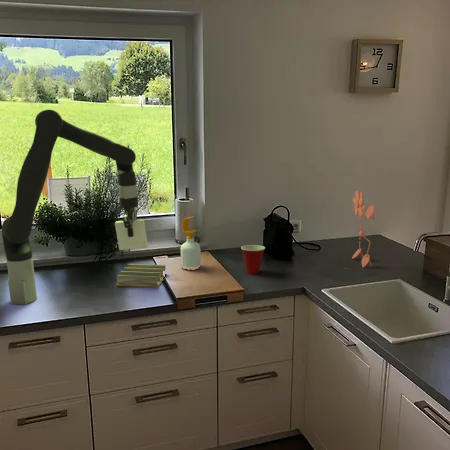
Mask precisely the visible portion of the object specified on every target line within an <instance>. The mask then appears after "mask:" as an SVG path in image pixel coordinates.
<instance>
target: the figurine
mask: <svg viewBox="0 0 450 450" xmlns="http://www.w3.org/2000/svg"><path fill="white" fill-rule="evenodd" d="M354 193H355V194H354V196H355V197H353V198H352V203H353V204H354V207H353V208H352V209H351V212H352V211H353V210H354V214H355V216H358V217H359V218H360V219H359V226H360V231H359V233H358V235H359V239H362V238H364V239H365V240H366V241H368V242H369V244H368V248H367V252H366V253H365V254H364V255H363V252H362V248H361V242H358V243H359V244H358V245H359V246H358V247H359V248H358V249H357V250H356V251H355V253H353V255H352V257H351V260H353V259H355V258H357V257H358V256H360V257H362V259H361V266H362V268H364V267H366V266H367V265H368V264H370V267H373V264H372V261H371V260H370V254H369V251H370V246H371V243H372V242H371V241H370V240H369V239H368V238H366V236H365V235H366V233H365V231H364V230H362V229H363V228H362V222H361V221H363V220H364V219H366V218H367V220H369V219H370V218H371V219H372V220H375V206H374V204H371V205H369V206H368V208H367V209H366V205H365V203H364V194H363V191H360V193H359V191H358V190H356V191H355V192H354ZM363 212H364V213H363ZM363 214H364V215H365V216H364V217H362V216H363ZM361 237H362V238H361ZM360 254H361V255H360ZM345 269H348V270H349V267H345ZM350 270H351V271H353V269H351V268H350ZM355 271H357V270H356V269H355Z"/></svg>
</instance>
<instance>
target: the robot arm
mask: <svg viewBox="0 0 450 450" xmlns="http://www.w3.org/2000/svg"><path fill="white" fill-rule="evenodd" d="M34 125H35V132H34V137H33V140H32V144H31V147H30V148H29V150H28V152H27V154H26V156H25V159H24V160H23V163H22V165H21V169H20V172H19V176H18V179H17V182H16V183H17V184H16V198H15V204H14V205H15V206H14V208H13V211H12V214H11V216H9V217H6V218H5V219H4V221H3V222H2V225H1V235H2V236H1V237H2V242H3V249H4V253H5V258H6V259H5V260H6V267H7V273H8V274H7V275H8V283H7V284H8V290H9V291H8V292H9V297H10V299H9V300H10V304H11V305H27V304H30V303H33V302H35V301H36V300H37V299H38V297H37V295H38V294H37V286H36V278H35V277H36V276H35V268H34V258H33V252H32V247H31V244H30V236H31V233H32V228H33V222H34V219H35V213H36V208H37V206H38V203H39V201H40V198H41V196H42V192H43V189H44V186H45V184H46V180H47V178H48V177H47V176H48V172H49V169H50V165H51V160H52V155H53V149H54V147H55V144H56V142H57V139H58V138H61V139H64V140H67V141H69V142H72V143H74V144H76V145H78V146H80V147H83V148H85V149H86V150H89V151H91V152H94V153H96V154H98V155H100V156H103V157H106V158H109V159H111V160H113V161H115V164H116V165H115V167H116V171H117V174H118V175H117V178H118V197H119V199H118V200H119V207H120V208H121V209H124V212H123V216H122V221H123V222H124V226H125V228H127V231H128V237H133V222H134V220H138V219H137V218H138V210H137V209H136V208H138V206H139V198H138V197H139V196H138V186H137V179H136V172H135V171H134V166H133V164H134V162H136V159H137V157H136V153H135V151H134V150H133V149H132V148H130V147H127V146H125V145H122V144H120V143H117V142H115V141H113V140H111V139H110V138H107V137H104V136H103V135H100V134H98V133H96V132H93V131H90V130H87V129H85V128H81V127H79V126H76V125H74V124H72V123H70V122H68V121H66V120H65V119H63V118H62V115H60V113H59V112H58V111H56V110H54V109H45V110H41V111H40V112H39V113H37V115H36V117H35V118H34ZM130 220H132V221H130ZM128 224H129V225H128Z"/></svg>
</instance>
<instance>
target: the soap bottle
mask: <svg viewBox="0 0 450 450" xmlns="http://www.w3.org/2000/svg"><path fill="white" fill-rule="evenodd" d="M191 218H195V215H193V216H188V217H186V218H183V219H182V220H181V221H182V223H181V225H182V226H181V228H182V232H183V233H186V235H188V236H186V241H185V242H184V243H183V244H182V245H180V265H181V264H182V265H183V266H186V267H197V266H199V265H200V264H201V263H202V260H201V259H202V257H201V246H200V244H199V243H197V242H196V241H195V238H194V236H193V234H194V233H196V232H197V230H195V229H190V224H189V223H190V221H189V219H191ZM201 265H202V264H201Z"/></svg>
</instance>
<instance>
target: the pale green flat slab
mask: <svg viewBox="0 0 450 450" xmlns="http://www.w3.org/2000/svg"><path fill="white" fill-rule="evenodd" d="M130 221H132V220H130ZM128 225H129V224H128ZM145 225H146V224H145V219H142V218H141V219H137V220H134V222H133V237H128V231H127V228H125V226H124V222H123V220H119V221H118V220H117V221H115V222H114V227H115V232H116V238H117V244H118V245H117V246H118V250H119V251H122V250H123V251H125V250H126V251H127V250H137V249H148V247H149V244H148V237H147V230H146V226H145Z"/></svg>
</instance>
